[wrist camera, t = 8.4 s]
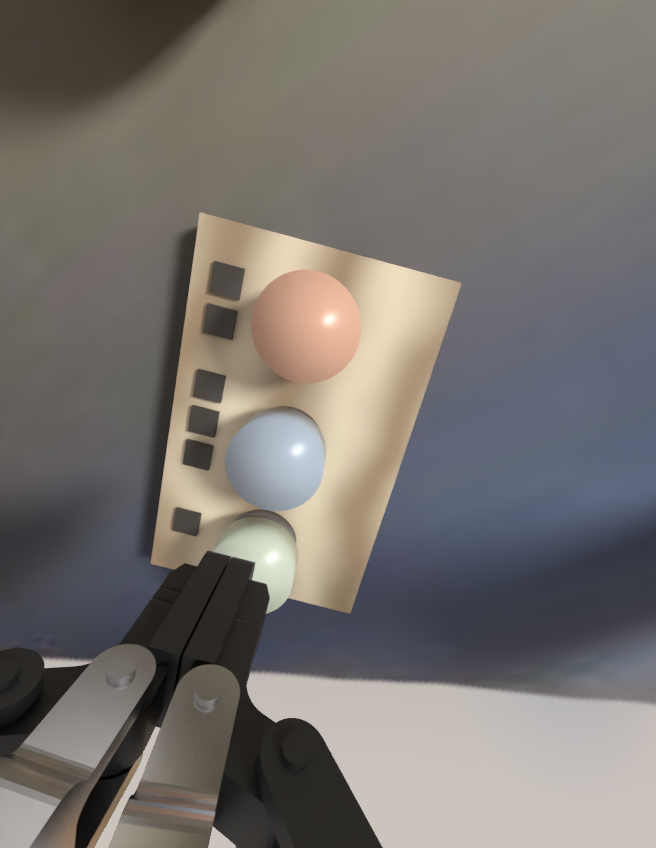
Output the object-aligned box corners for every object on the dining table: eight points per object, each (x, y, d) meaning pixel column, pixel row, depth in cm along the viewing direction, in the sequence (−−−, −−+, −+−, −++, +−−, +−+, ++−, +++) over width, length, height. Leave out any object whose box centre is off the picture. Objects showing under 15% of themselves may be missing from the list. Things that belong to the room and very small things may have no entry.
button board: (452, 285, 22) (466, 282, 19) (350, 593, 29) (350, 622, 26) (212, 220, 22) (193, 208, 19) (164, 546, 28) (144, 571, 26)
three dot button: (335, 420, 21) (334, 434, 19) (314, 499, 23) (310, 521, 20) (247, 397, 21) (234, 407, 19) (230, 478, 23) (217, 497, 20)
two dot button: (371, 289, 19) (374, 286, 17) (345, 385, 21) (344, 395, 18) (273, 262, 19) (263, 256, 17) (254, 361, 21) (241, 368, 18)
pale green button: (306, 528, 23) (301, 552, 21) (288, 595, 25) (281, 624, 22) (225, 507, 23) (211, 529, 21) (211, 576, 25) (197, 603, 22)
